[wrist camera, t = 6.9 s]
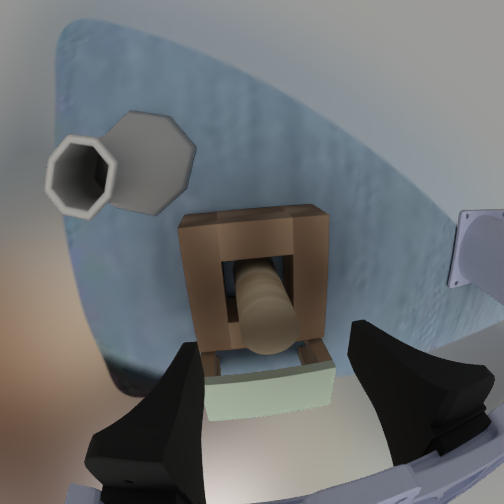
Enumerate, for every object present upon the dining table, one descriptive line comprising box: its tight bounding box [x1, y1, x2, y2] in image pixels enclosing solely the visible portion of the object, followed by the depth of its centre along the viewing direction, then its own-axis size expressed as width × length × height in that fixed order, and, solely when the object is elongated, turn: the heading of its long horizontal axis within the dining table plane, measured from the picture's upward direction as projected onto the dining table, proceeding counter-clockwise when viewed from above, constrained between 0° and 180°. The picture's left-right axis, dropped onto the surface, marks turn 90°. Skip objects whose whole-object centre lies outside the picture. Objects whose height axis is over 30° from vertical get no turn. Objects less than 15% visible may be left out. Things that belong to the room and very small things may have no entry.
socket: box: [178, 204, 329, 352], centre depth 20 cm, size 9×9×4 cm
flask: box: [44, 110, 196, 221], centre depth 14 cm, size 7×7×10 cm
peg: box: [233, 257, 300, 355], centre depth 18 cm, size 3×3×8 cm
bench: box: [201, 338, 336, 421], centre depth 21 cm, size 9×4×6 cm, turn 94°
